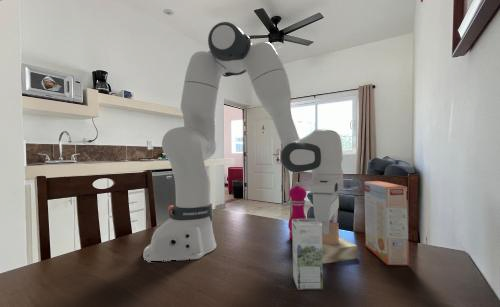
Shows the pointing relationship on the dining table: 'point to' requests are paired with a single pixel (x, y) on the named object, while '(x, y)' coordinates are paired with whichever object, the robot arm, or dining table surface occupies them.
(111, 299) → the dining table surface
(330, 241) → the terracotta cube
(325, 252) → the birch block
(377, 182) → the cracker box
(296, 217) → the pepper mill
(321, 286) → the syrup box
